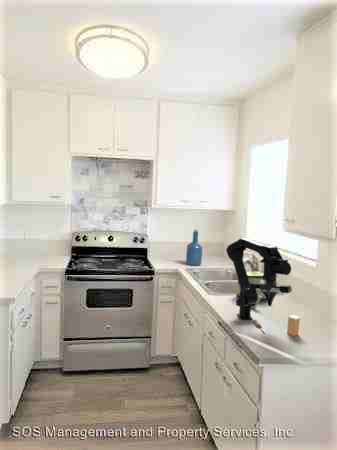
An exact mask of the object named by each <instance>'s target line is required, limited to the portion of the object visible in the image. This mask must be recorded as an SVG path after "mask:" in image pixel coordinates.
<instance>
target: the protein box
mask: <svg viewBox="0 0 337 450" xmlns="http://www.w3.org/2000/svg"><path fill="white" fill-rule="evenodd" d="M246 273H247V276H248V280H249V283H250V284H251V283H253V282H255V283H260V282H261V280H262V279H263V275H264V272H263V271H246ZM240 290H241V287H240V284H239V280H238V279H237V288H236V297H237V298H238V299H239V298H240ZM256 292H257V295H258V296H259V295H260V296H262V297H261V299H260V300H259V302H261V301H262V302H263V301H265V302H266V301H267V299H266V297H265V295H264V294H263V293H262V292H261V290H260V289H259V288H257V289H256ZM258 296H257V297H258Z"/></svg>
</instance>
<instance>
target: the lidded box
mask: <svg viewBox="0 0 337 450" xmlns="http://www.w3.org/2000/svg"><path fill="white" fill-rule="evenodd" d="M287 318H288V319H287V330H286V331H287V332H286V334H287V335H290V336H293V337H295V336H298V335H299V330H300V329H299V328H300V321H301V316H298V315H295V314H292V315H288V317H287Z"/></svg>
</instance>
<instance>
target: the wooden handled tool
mask: <svg viewBox="0 0 337 450" xmlns="http://www.w3.org/2000/svg"><path fill="white" fill-rule="evenodd" d="M251 322H252V324H253V325H254V326H255V327H256V328H257V329H259V330H260V331H261V333H262V334H263V335H266V332H264V330H263V329H262V328H263V326H262V325H261V324H260V323H259V322H258V321H257V320H256V319H252V321H251Z"/></svg>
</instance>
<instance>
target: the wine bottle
mask: <svg viewBox="0 0 337 450" xmlns="http://www.w3.org/2000/svg"><path fill="white" fill-rule="evenodd" d="M192 236H193V237H192V242H190V243H189V244H187V245H186V256H185V263H186V265H188V266H192V267H198V266H199V267H200V266H202V259H203V247H202V245H201V244H199V231H198V229H194V230H193V234H192Z"/></svg>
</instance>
